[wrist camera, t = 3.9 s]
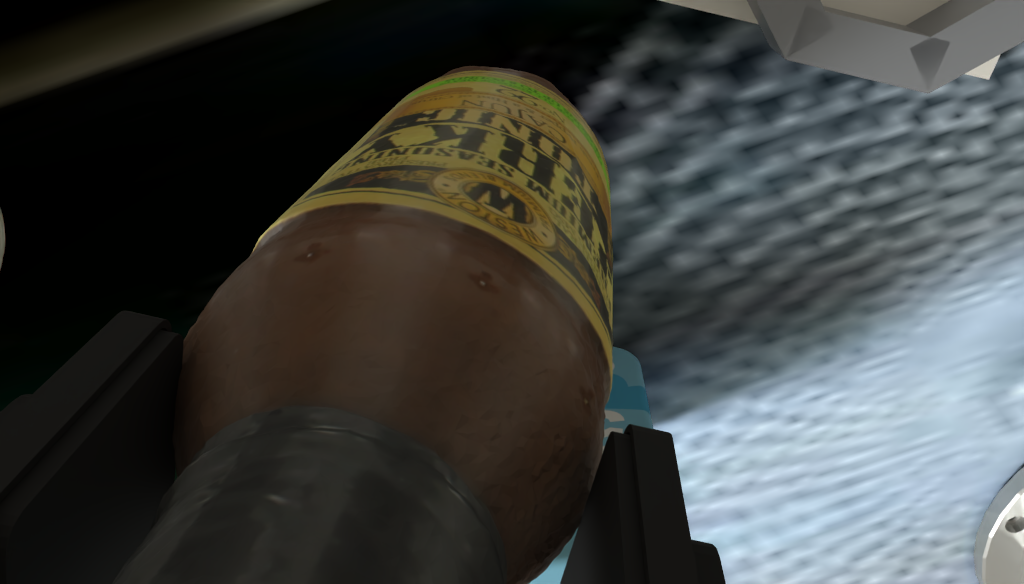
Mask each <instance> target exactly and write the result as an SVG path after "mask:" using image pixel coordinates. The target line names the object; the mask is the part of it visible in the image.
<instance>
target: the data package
mask: <svg viewBox="0 0 1024 584" xmlns="http://www.w3.org/2000/svg"><path fill="white" fill-rule="evenodd" d="M612 369H613V377H612V388H611V392H610V397H609V400H608V402H607V404H606V406H605V416H606V417H605V420H604V422H605V424H604V435H605V436H604V439H603V451H604V448H605V444H606V441H607V439H608V436H609V434H610V432H612V431H614V432H619V433H623V434H624V431H625V429H626V427H627V426H628V425H629V424H633V425H637V426H642V427H646V428H651V429H653V425H652V420H651V415H650V409H649V404H648V399H647V394H646V389H645V384H644V379H643V374H642V369H641V365H640V362H639V360H638V359H637V358H636V357H635V356H634V355H633V354H632V353H630V352H628V351H626V350H624V349H621V348H617V347H613V350H612ZM602 454H603V452H602ZM577 530H578V528H577V529H576V531H575V533H574V535H573V537H572V539H571V540H570V541H569V542H568V543H567V544H566V545H565V546H564V548H563V550H562V552H561V553H560V554H559V555H558V556H557V557H556V558H555V559H554V560H553V561H552V562H551V564H550V565H549V567H548V568H547V569H546V570H545V571H544V572H543V573H542V574H541V575H540V576H538V577H537V578H536V579H534V580H533V581H531V582H530V583H529V584H560V582H561V579H562V576H563V573H564V570H565V566H566V563H567V560H568V557H569V554H570V551H571V548H572V545H573V542H574V539H575V536H576V533H577Z"/></svg>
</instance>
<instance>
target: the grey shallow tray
mask: <svg viewBox="0 0 1024 584" xmlns="http://www.w3.org/2000/svg"><path fill="white" fill-rule="evenodd" d="M659 1H663V2H668V3H672V4H676V5H680V6H684V7H688V8H693V9H697V10H701V11H705V12H709V13H713V14H718V15H722V16H726V17H730V18H734V19H738V20H742V21H747V22H751V23H755V24H759V26H760V28H761V30H762V32H763V34H764V36H765V38H766V40H767V42H768V44H769V46H770V47H771V48H772V49H773V50H775V51H776V52H777V53H778V54H780V55H781V56H782V57H783V58H785V59H786V60H789V61H794V62H798V63H802V64H806V65H810V66H815V67H819V68H823V69H827V70H831V71H836V72H840V73H844V74H848V75H852V76H857V77H861V78H865V79H869V80H873V81H878V82H882V83H886V84H890V85H894V86H899V87H903V88H907V89H911V90H915V91H920V92H924V93H930V92H932V91H934V90H936V89H938V88H940V87H941V86H943V85H945V84H947V83H949V82H951V81H952V80H954V79H956V78H958V77H960V76H961V75H963V74H967V75H971V76H975V77H980V78H984V79H988V80H989V78H990V76H991V74H992V72H993V69H994V67H995V65H996V63H997V61H998V59H999V57H1000V54H1002V53H1004V52H1005V51H1007V50H1009V49H1011V48H1013V47H1015V46H1016V45H1018V44H1020V43H1022V42H1024V0H659Z"/></svg>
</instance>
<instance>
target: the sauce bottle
mask: <svg viewBox="0 0 1024 584" xmlns="http://www.w3.org/2000/svg"><path fill="white" fill-rule="evenodd" d="M612 249H613V245H612V228H611V208H610V182H609V175H608V170H607V165H606V162H605V159H604V156H603V152H602V149H601V147H600V145H599V142H598V140H597V138H596V136H595V134H594V133H593V132H592V130H591V128H590V127H589V125H588V124H587V122H586V120H585V119H584V118H583V116H582V115H581V114H580V112H579V111H578V110H577V109H576V108H575V107H574V106H573V105H572V104H571V103H570V102H569V100H568V99H567V98H566V97H565V96H563V94H562V93H561V92H560V91H559V90H558V89H556V87H555V86H554V85H552V84H551V83H550V82H549V81H547V80H545V79H543V78H541V77H538V76H536V75H533V74H530V73H527V72H522V71H516V70H512V69H503V68H493V67H484V66H483V67H478V66H466V67H461V68H457V69H454V70H452V71H449V72H448V73H446V74H445V75H443V76H441V77H439V78H438V79H435V80H433V81H430V82H429V83H427V84H425V85H423V86H421V87H420V88H418V89H416V90H415V91H413V92H412V93H410V94H409V95H407V96H406V97H405V98H404V99H403V100H401V101H400V102H399V103H398V104H397V105H396V106H395V107H394V108H393V109H392V110H391V111H390V112H389V113H388V114H386V115H385V116H384V117H383V118H382V119H381V120H380V121H379V122H378V123H377V124H376V125H375V126H374V127H373V128H372V129H371V130H370V131H369V132H368V133H367V134H366V135H365V136H364V137H363V138H362V139H361V140H360V141H359V142H358V143H357V144H356V145H355V146H354V147H353V148H352V149H351V150H350V151H348V152H347V153H346V154H345V155H344V156H343V157H342V158H341V159H340V160H339V161H337V162H336V163H335V164H334V165H333V166H332V167H331V168H330V169H329V170H328V171H327V172H326V173H325V174H324V175H323V176H322V177H321V178H320V179H319V180H318V182H316V183H315V184H314V185H313V186H312V187H311V188H310V189H309V190H308V191H307V192H306V193H305V194H304V195H303V196H302V197H301V198H300V199H299V200H297V201H296V202H295V203H294V204H293V205H292V206H291V207H290V208H289V209H288V210H287V211H286V212H285V213H284V214H283V215H282V216H281V217H280V218H279V219H278V220H277V221H275V222H274V223H273V224H272V225H271V226H270V227H269V228H268V229H267V230H266V231H265V232H264V233H263V235H262V236H261V237H260V238H259V240H258V242H257V244H256V246H255V248H254V250H253V252H252V254H251V255H250V257H249V258H248V259H247V260H246V261H245V262H243V263H242V264H241V265H240V266H239V267H238V268H237V269H236V270H235V271H234V272H233V273H232V274H231V275H230V277H229V278H228V279H227V280H226V281H225V282H224V283H223V284H222V285H221V286H220V287H219V288H218V290H217V291H216V293H215V294H214V296H213V297H212V299H211V300H210V301H209V303H208V304H207V306H206V307H205V309H204V310H203V312H202V313H201V314H200V315H199V317H198V319H197V322H196V323H195V324H194V325H193V326H192V327H191V328H190V330H189V332H188V334H187V336H186V338H185V339H184V341H183V361H182V370H181V373H180V376H179V380H178V389H177V395H176V402H175V418H174V430H173V435H172V442H173V446H174V450H175V457H174V458H175V465H176V472H177V476H178V478H177V479H176V481H175V482H174V483H173V484H172V486H171V487H170V488H169V489H168V491H167V492H166V493H165V494H164V495H163V497H162V500H161V502H160V504H159V506H158V509H157V512H156V515H155V518H154V520H153V523H152V526H151V528H150V532H149V533H148V534H147V536H146V537H145V539H144V540H143V541H142V543H141V544H140V545H139V547H138V548H137V549H136V551H135V552H134V553H133V554H132V555H131V557H130V558H129V559H128V560H127V561H126V562H125V564H124V566H123V567H122V569H121V570H120V572H119V574H118V575H117V577H116V578H115V580H114V581H113V583H112V584H529V583H530V582H531V581H533V580H534V579H536V578H537V577H538V576H540V575H541V574H542V573H543V572H544V571H545V570H546V569H547V568H548V567H549V565H550V564H551V562H552V561H553V560H554V559H555V558H556V557H557V556H558V555H559V554H560V553H561V552H562V550H563V548H564V546H565V545H566V544H567V543H568V542H569V541H570V540H571V539H572V537H573V535H574V533H575V531H576V529H577V528H578V527H579V524H580V521H581V518H582V515H583V512H584V509H585V505H586V502H587V499H588V496H589V493H590V490H591V487H592V484H593V481H594V478H595V475H596V472H597V469H598V466H599V463H600V460H601V457H602V452H603V439H604V436H605V435H604V424H605V422H604V420H605V417H606V416H605V406H606V404H607V402H608V400H609V397H610V392H611V388H612V377H613V369H612V350H613V335H612V332H613V253H612Z"/></svg>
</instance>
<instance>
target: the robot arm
mask: <svg viewBox="0 0 1024 584" xmlns="http://www.w3.org/2000/svg"><path fill="white" fill-rule="evenodd" d="M182 361H183V337H182V335H181V334H177V333H173V332H172V328H171V324H170V322H169V321H168V320H166V319H161V318H157V317H152V316H148V315H143V314H139V313H134V312H130V311H121V312H120V313H118V314H117V315H116V316H115V317H114V318H113V319H112V320H111V321H110V322H109V323H108V324H107V325H106V326H104V327H103V328H102V329H101V330H100V331H99V332H98V333H97V334H96V335H95V336H94V337H93V338H92V339H91V340H90V341H89V342H88V343H87V344H85V345H84V346H83V347H82V348H81V349H80V350H79V351H78V352H77V353H76V354H75V355H74V356H73V357H72V358H71V359H70V360H69V361H68V362H66V363H65V364H64V365H63V366H62V367H61V368H60V369H59V370H58V371H57V372H56V373H55V374H54V375H53V376H52V377H51V378H50V379H49V380H47V381H46V382H45V383H44V384H43V385H42V386H41V387H40V388H39V389H38V390H37V391H36V392H35V393H34V394H33V395H32V394H26V395H21V396H20V397H18V398H17V399H15V400H14V401H12V402H11V403H10V404H9V405H8V406H7V407H6V408H5V409H4V410H2V411H1V412H0V584H112V583H113V581H114V580H115V578H116V577H117V575H118V574H119V572H120V570H121V569H122V567H123V566H124V564H125V562H126V561H127V560H128V559H129V558H130V557H131V555H132V554H133V553H134V552H135V551H136V549H137V548H138V547H139V545H140V544H141V543H142V541H143V540H144V539H145V537H146V536H147V534H148V533H149V532H150V528H151V526H152V523H153V520H154V518H155V515H156V512H157V509H158V506H159V504H160V502H161V500H162V497H163V495H164V494H165V493H166V492H167V491H168V489H169V488H170V487H171V486H172V484H173V483H174V478H175V458H174V457H175V450H174V446H173V442H172V435H173V430H174V418H175V402H176V395H177V389H178V380H179V376H180V373H181V370H182ZM973 555H974V564H975V573H976V576H977V579H978V581H979V584H1024V467H1023V468H1022V469H1021V470H1019V471H1018V472H1017V473H1016V474H1015V475H1014V476H1013V477H1012V478H1011V479H1010V481H1009V482H1008V483H1007V484H1006V485H1005V486H1004V487H1003V488H1002V489H1001V490H1000V491H999V492H998V494H997V496H996V497H995V499H994V500H993V502H992V503H991V505H990V506H989V508H988V509H987V511H986V512H985V514H984V517H983V519H982V522H981V524H980V527H979V529H978V532H977V535H976V541H975V548H974V554H973ZM560 584H726V583H725V579H724V574H723V570H722V565H721V560H720V557H719V554H718V551H717V548H716V547H715V546H714V545H713V544H709V543H704V542H700V541H695V540H691V537H690V531H689V526H688V520H687V515H686V509H685V504H684V498H683V493H682V487H681V482H680V476H679V471H678V465H677V460H676V454H675V449H674V443H673V438H672V435H671V434H670V433H668V432H664V431H660V430H655V429H651V428H646V427H642V426H637V425H633V424H629V425H628V426H627V427H626V429H625V431H624V434H623V433H619V432H614V431H612V432H610V434H609V436H608V439H607V441H606V444H605V448H604V451H603V454H602V457H601V460H600V463H599V466H598V469H597V472H596V475H595V478H594V481H593V484H592V487H591V490H590V493H589V496H588V499H587V502H586V505H585V509H584V512H583V515H582V518H581V521H580V524H579V527H578V530H577V533H576V536H575V539H574V542H573V545H572V548H571V551H570V554H569V557H568V560H567V563H566V566H565V570H564V573H563V576H562V579H561V582H560Z"/></svg>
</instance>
